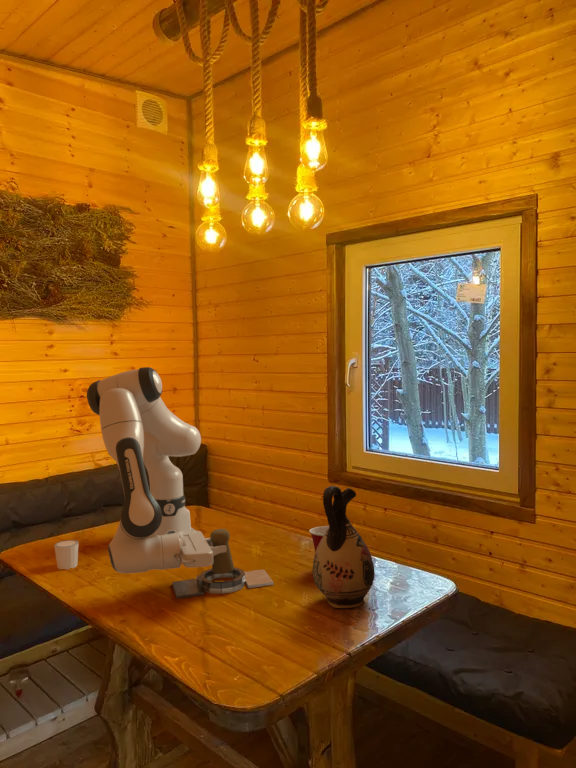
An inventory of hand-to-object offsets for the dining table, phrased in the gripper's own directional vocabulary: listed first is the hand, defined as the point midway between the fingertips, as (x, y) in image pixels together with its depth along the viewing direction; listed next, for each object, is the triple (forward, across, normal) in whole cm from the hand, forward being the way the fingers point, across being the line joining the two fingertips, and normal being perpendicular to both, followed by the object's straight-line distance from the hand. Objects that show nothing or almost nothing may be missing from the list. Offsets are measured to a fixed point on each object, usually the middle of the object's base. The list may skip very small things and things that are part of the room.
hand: (224, 545), depth 168 cm
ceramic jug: (+25, -22, +11) cm, 35 cm away
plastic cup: (+30, 0, +11) cm, 32 cm away
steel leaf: (+3, 0, +11) cm, 11 cm away
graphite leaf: (-4, 0, +11) cm, 12 cm away
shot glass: (-42, +31, +11) cm, 53 cm away
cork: (0, 0, +7) cm, 7 cm away
